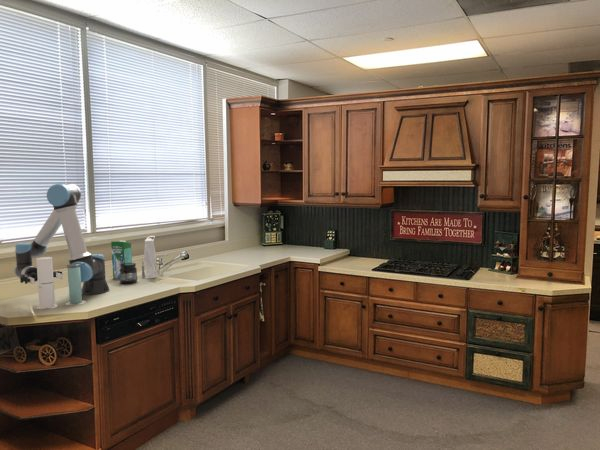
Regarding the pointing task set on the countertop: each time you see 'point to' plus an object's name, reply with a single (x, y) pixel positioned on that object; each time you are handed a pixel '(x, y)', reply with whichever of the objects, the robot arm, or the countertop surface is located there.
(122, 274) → the supplement container
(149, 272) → the skyscraper
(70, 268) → the teal tube
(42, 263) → the tall white block
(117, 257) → the milk carton
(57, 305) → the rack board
